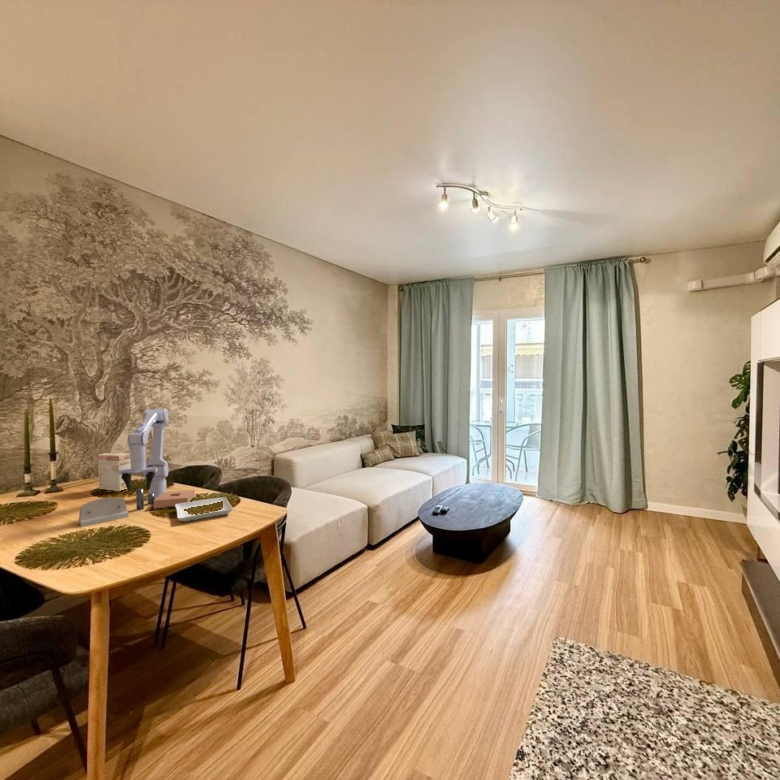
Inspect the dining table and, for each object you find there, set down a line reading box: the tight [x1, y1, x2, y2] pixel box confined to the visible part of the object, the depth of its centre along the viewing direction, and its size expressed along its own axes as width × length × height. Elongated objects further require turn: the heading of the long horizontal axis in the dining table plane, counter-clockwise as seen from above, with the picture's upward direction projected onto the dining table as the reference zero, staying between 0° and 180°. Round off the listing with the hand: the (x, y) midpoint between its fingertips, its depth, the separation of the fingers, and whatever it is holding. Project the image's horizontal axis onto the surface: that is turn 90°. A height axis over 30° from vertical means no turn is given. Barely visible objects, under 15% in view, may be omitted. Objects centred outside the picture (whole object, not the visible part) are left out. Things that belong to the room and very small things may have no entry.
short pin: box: [146, 493, 156, 505], centre depth 186 cm, size 3×3×4 cm
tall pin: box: [135, 488, 145, 511], centre depth 178 cm, size 3×3×9 cm
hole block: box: [153, 489, 196, 510], centre depth 186 cm, size 14×14×4 cm
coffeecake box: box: [97, 452, 131, 491], centre depth 211 cm, size 15×7×20 cm, turn 72°
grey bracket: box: [78, 496, 129, 528], centre depth 165 cm, size 17×5×10 cm, turn 136°
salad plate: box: [175, 496, 234, 522], centre depth 172 cm, size 21×21×3 cm
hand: (139, 489), depth 176 cm, fingers open, 7 cm apart
